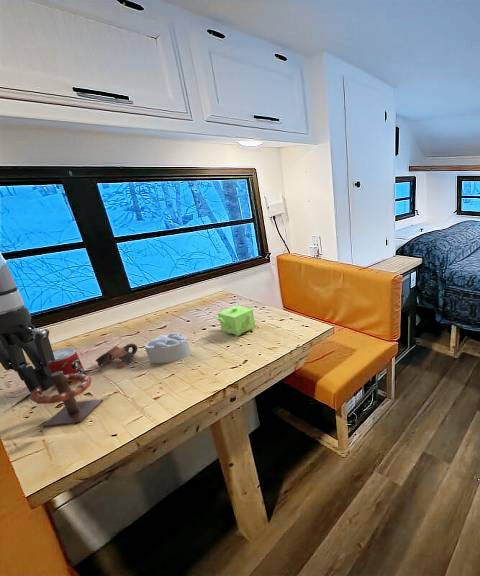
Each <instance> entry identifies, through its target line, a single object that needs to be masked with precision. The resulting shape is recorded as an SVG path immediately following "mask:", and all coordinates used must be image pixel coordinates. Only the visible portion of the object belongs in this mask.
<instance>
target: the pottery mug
mask: <svg viewBox="0 0 480 576" xmlns="http://www.w3.org/2000/svg"><path fill="white" fill-rule="evenodd" d="M130 348H132V350H131V352H130V351H129V350H130ZM137 352H138V345H136V344H135V343H128V344H126V345H124V346H122V347H119V346H118V345H114V346H113V347H112V348H110V349H109V350H108V351H107V352H104V353H103V354H102V355H101V356H99V357H97V358H96V359H95V362H97V366H98V367H99V368H102V365H103V364H105V363H106V364H107V363H109V362H111V361H114V360H116V359H117V360H118V359H119V360H121V361H122V362H121V363H120V364H118V365H117V366H118V368H119V369H122V368H125V367H127V366H129V365H130V364H132V363H133V362H134V357H135V355H136V354H137Z"/></svg>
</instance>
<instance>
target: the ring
mask: <svg viewBox="0 0 480 576" xmlns="http://www.w3.org/2000/svg"><path fill="white" fill-rule="evenodd" d="M64 376H65V378H66V380H67V382H68V381H79V382H80V384H79V385H77V386H76V387H75V388H72V389H71V390H70V391H68V392H66V393H62V394H59V393H57V394H54V395H44V394H43V393H44V392H45V391H43V390H42V388H41V386H40V385H39V386H38V387H36V388H35V389H33V391H32V392H30V393H31V394H30V397H29V400H31V401H32V402H34V403H36V404H38V405H52V404H53V405H54V404H57V403H62V401H65V400H68V399H71V398H73V397H77V396H79V395H81V394H83V393H84V392H85V391H86V390H87V389H88V388H90V387H91V384H92V377H91V376H89V375H87V374H86V375H85V374H68V375H64ZM52 387H55V385H53V386H52Z"/></svg>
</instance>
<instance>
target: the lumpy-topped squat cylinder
mask: <svg viewBox="0 0 480 576" xmlns="http://www.w3.org/2000/svg"><path fill="white" fill-rule="evenodd" d="M188 341H189V340H188V338H187V336H186V335H184V334H180V333H178V332H175V331H173V332H170V333H168V334H159V335H158V336H156V337H155V338H153V339H152V340H150V341H149V342H148V343H146V344H145V345H144V349H145V352H146V355H147V358H148V360H149V363H150V364H170V363H174V362H177V361H180V360H183V359H185V358H188V357H189V356H190V355H191V353H192V352H191V347H190V345H189V342H188Z"/></svg>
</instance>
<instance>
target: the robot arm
mask: <svg viewBox="0 0 480 576" xmlns="http://www.w3.org/2000/svg"><path fill="white" fill-rule="evenodd" d="M24 304H25V301H24V299H23V297H22V295H21V292H20V290H19V289H18V286H17V283H16V281H15V279H14V277H13V275H12V273H11V269H10V268H9V266H8V262H7V260H6V259H5V258H4V257H3V254H2V252H0V365H1V366H2V367H3V369H4V370H5V371H10V370H12V371H14V372H16V373H17V375H18V377H19V378H20V380H21V381H22V382H23V383H24V384H25V386H26V388H27V390H28V392H29V393H32V391H33V389H35V388H36V387H38V386H39V385H40V386H41V388H42V390H43V391H44V392H46V391H47V390H49V389H51V388H52V387H54V386H53V385H54V383H53V381H52V379H51V377H50V375H51V374H52V373H51V371H50V369H49V366H48V365H49V364H51V363H53V362H54V361H55V357H54V354H53V352H54V351H53V348H52V345H51V344H52V343H51V341H50V338H49V336H50V330H49V329H47V328H44V329H43V330H42V329H38V328H36V326H35V325H33V324H32V323H31V320H32V315H31V313H30V311H29V309H28V307H27V306H26V305H24ZM25 355H26V356H25ZM26 357H27V358H28V359H29V360H30V362H28V361H27V358H26ZM31 364H32V365H31Z"/></svg>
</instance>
